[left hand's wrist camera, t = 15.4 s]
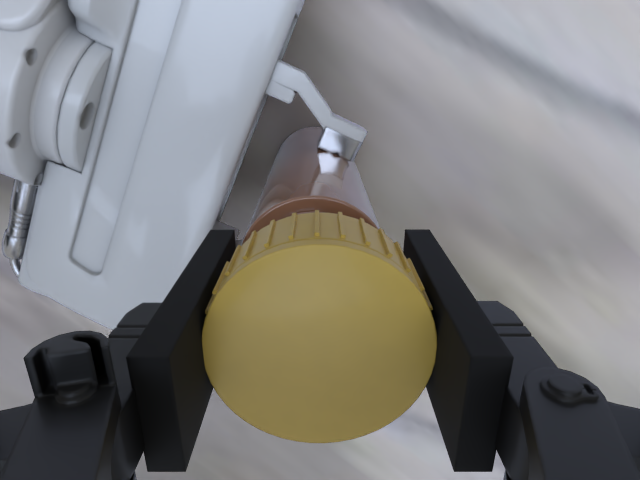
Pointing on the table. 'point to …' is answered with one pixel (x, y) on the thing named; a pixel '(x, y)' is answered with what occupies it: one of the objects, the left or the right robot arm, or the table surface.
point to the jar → (310, 184)
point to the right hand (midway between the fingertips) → (331, 203)
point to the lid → (319, 329)
